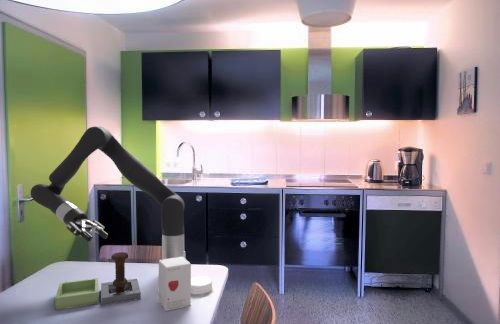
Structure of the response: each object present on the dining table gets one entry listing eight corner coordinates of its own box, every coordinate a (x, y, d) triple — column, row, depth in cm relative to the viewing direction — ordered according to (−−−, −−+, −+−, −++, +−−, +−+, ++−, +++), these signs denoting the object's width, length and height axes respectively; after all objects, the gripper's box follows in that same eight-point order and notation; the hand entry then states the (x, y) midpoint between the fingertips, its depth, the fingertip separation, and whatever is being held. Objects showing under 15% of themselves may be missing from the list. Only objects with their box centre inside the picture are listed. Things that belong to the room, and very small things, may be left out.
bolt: (122, 298, 128) (121, 257, 127) (109, 297, 129) (109, 256, 128) (130, 291, 133) (130, 252, 133) (118, 290, 134) (118, 251, 134)
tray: (98, 288, 137) (98, 278, 136) (98, 303, 124) (97, 292, 123) (60, 293, 132) (59, 282, 131) (55, 309, 119) (55, 298, 118)
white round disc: (205, 296, 130) (205, 287, 130) (181, 293, 133) (181, 284, 133) (216, 286, 140) (216, 277, 140) (193, 283, 143) (193, 274, 142)
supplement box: (165, 312, 118) (165, 267, 117) (158, 301, 126) (157, 259, 125) (191, 306, 122) (191, 263, 121) (183, 296, 130) (182, 255, 129)
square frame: (137, 284, 140) (137, 278, 140) (140, 299, 127) (140, 292, 127) (101, 289, 135) (101, 283, 135) (101, 305, 122) (101, 298, 122)
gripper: (61, 207, 135) (90, 231, 130) (88, 206, 148) (116, 228, 143) (52, 224, 135) (80, 249, 130) (80, 221, 149) (107, 244, 144)
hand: (99, 238), depth 137 cm, fingers open, 8 cm apart
